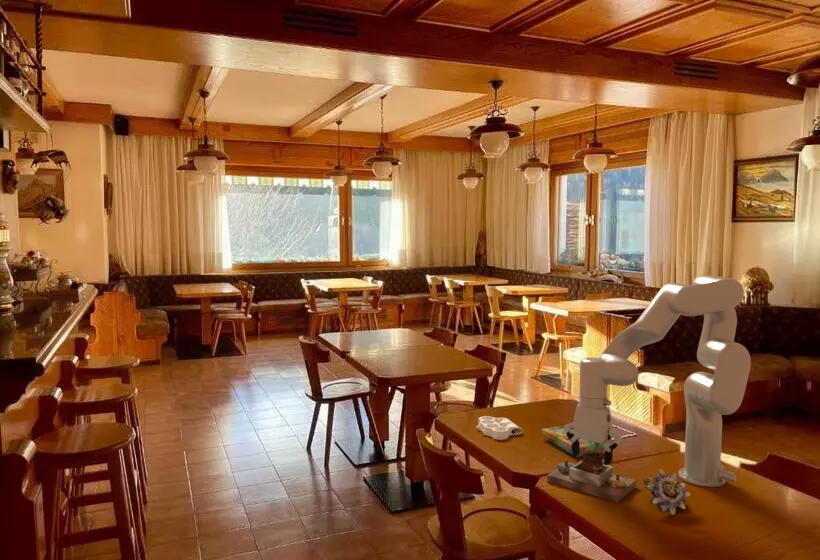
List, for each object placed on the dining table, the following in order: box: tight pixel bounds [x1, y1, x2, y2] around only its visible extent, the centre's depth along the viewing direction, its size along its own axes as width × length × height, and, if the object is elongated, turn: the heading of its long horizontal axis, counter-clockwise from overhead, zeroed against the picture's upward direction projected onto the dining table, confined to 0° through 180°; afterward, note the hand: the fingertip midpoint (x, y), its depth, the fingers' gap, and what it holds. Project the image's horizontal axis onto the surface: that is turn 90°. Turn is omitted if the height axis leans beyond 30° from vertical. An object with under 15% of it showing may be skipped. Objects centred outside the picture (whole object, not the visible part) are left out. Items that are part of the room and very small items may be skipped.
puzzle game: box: [541, 425, 606, 458], centre depth 208 cm, size 12×5×20 cm
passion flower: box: [643, 468, 692, 516], centre depth 163 cm, size 11×11×12 cm
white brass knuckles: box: [475, 415, 523, 441], centre depth 224 cm, size 3×18×15 cm
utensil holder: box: [581, 442, 604, 475], centre depth 176 cm, size 6×6×12 cm
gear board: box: [546, 459, 637, 503], centre depth 177 cm, size 21×13×5 cm, turn 49°
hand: (591, 459), depth 177 cm, fingers open, 9 cm apart
